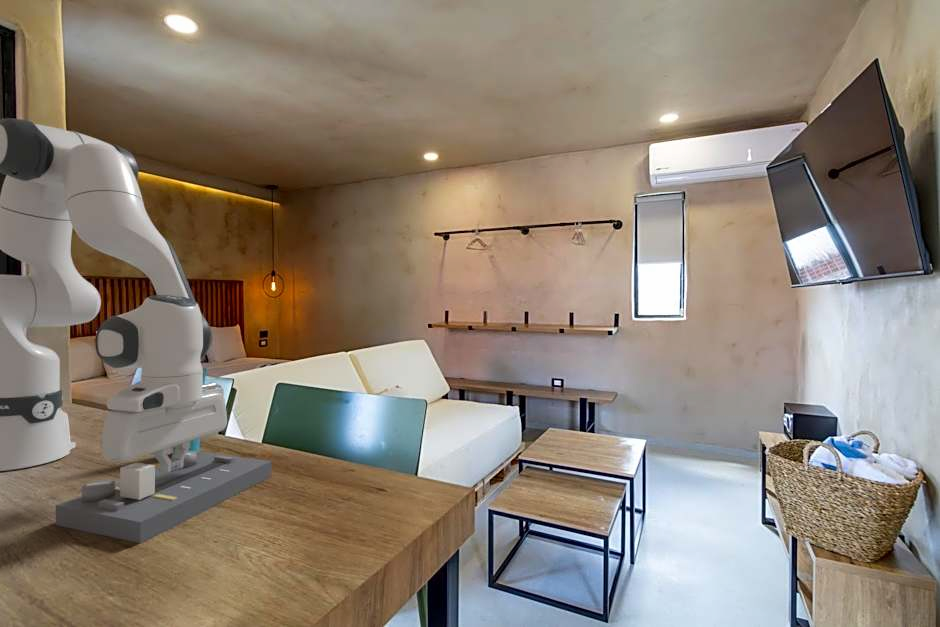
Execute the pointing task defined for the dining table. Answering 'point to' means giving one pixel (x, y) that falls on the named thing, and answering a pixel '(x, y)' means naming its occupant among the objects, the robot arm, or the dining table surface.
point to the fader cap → (137, 480)
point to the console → (162, 497)
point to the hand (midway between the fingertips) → (171, 470)
